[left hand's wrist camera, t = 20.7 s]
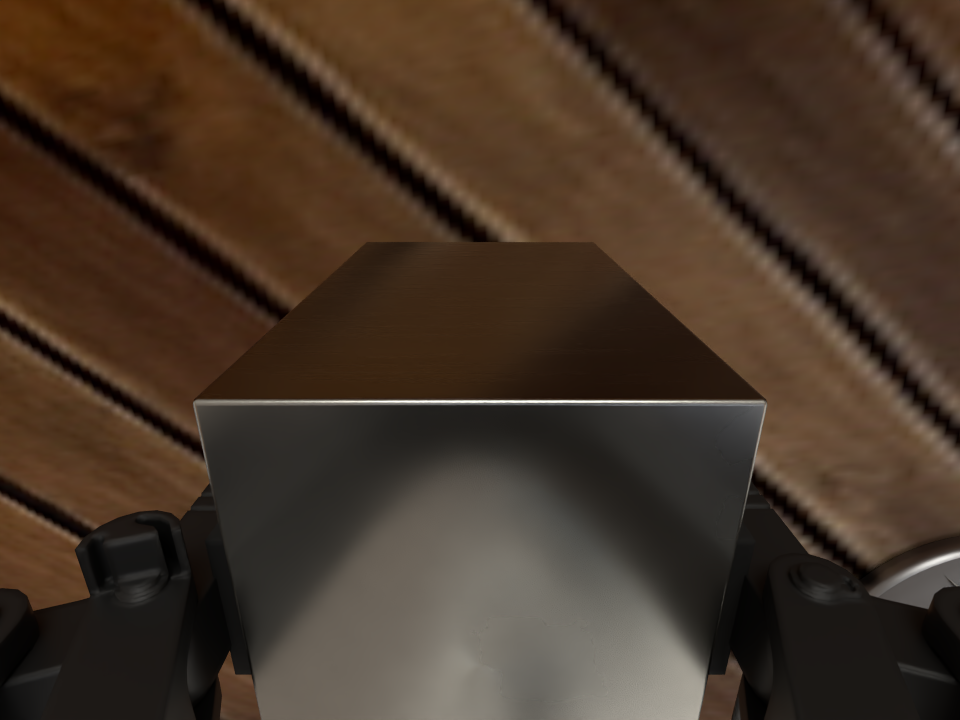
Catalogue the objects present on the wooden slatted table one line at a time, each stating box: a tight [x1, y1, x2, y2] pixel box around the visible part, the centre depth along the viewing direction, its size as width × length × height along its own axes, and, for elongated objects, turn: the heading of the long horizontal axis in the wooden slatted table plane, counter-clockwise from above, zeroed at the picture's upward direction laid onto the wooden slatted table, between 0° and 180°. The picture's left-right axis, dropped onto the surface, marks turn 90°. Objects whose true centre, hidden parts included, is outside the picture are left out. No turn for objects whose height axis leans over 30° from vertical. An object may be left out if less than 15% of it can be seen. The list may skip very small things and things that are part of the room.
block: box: [193, 242, 767, 720], centre depth 12 cm, size 8×6×10 cm
